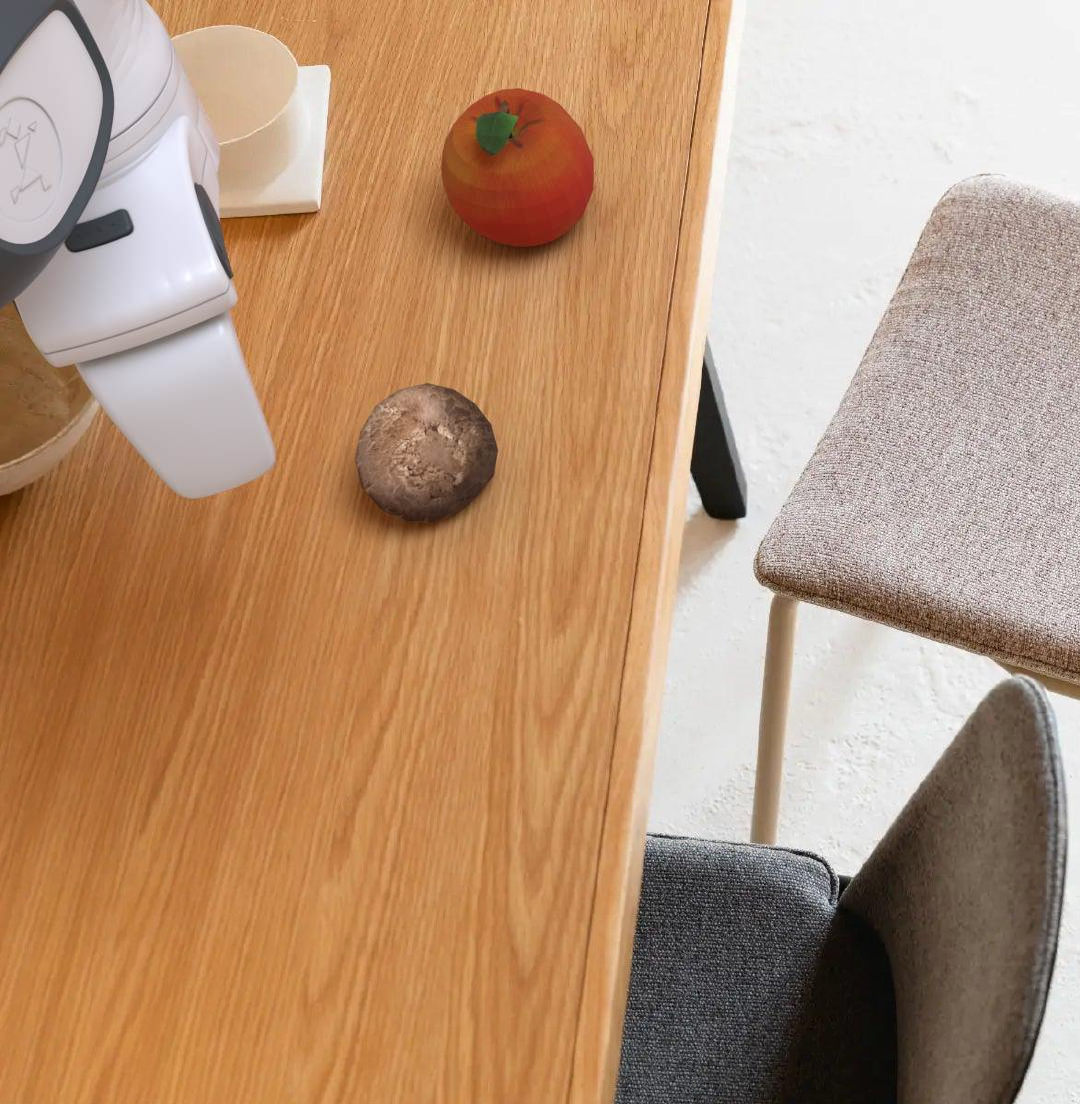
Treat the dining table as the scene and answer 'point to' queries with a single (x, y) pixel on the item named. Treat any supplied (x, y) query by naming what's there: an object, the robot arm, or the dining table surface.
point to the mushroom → (425, 453)
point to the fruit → (517, 168)
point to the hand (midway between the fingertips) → (218, 382)
